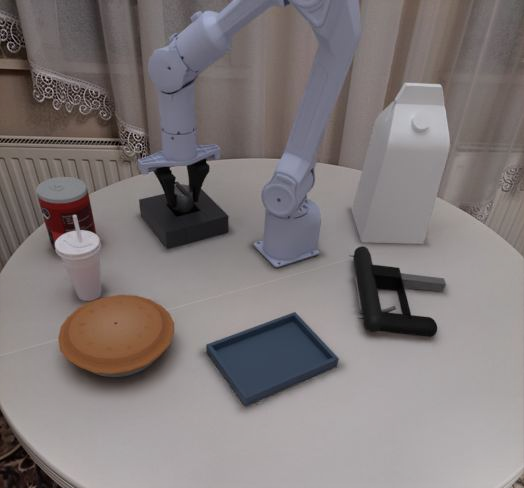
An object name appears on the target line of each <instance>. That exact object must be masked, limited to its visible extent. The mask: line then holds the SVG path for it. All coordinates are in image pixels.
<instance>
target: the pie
mask: <svg viewBox="0 0 524 488" xmlns="http://www.w3.org/2000/svg"><path fill="white" fill-rule="evenodd" d="M174 331H175V322H174V320H173V318H172V315H171V314H170V313H169V312H168V310H167V309H165V307H163V306H162V305H161V304H159V303H157V302H156V301H154V300H152V299H151V298H147V297H143V296H139V295H135V294H134V295H133V294H132V295H131V294H119V295H111V296H105V297H102V298H101V297H100V298H97V299H95V300H92V301H88V302H87V303H85V304H83V305H81V306H79V307H78V308H76V309H75V310H74V311H73V312H72V313H70V314H69V315H68V316H67V318H66V319H65V320H64V322H63V323H62V324H61V326H60V329H59V332H58V337H57V339H58V347H59V351H60V352H61V353H62V355H63V357H64V358H65V359H66V360H67V361H68V362H70V363H71V364H73V365H75V366H76V367H79V368H81V369H83V370H87V371H88V372H90V373H92V374H95V375H98V376H102V377H105V378H123V377H124V378H125V377H130V376H133V375H135V374H138V373H141V372H143V371H144V370H145V369H147V368H149V367H150V366H151V365H152V364H154V362H155V361H156V360H157V359H158V358H159V357H161V355H162V354H163V353H164V352H166V350H167V349H168V348H169V347H170V344H171V341H172V339H173V336H174V333H175V332H174Z"/></svg>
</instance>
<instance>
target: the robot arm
mask: <svg viewBox="0 0 524 488" xmlns="http://www.w3.org/2000/svg"><path fill="white" fill-rule="evenodd" d="M290 5H291V6H292V8H293V9H294V10H295V11H296V12H297V13H298V14H299V15H300V16H301V17H302V18H303V19H304V20H305V21H306V22H307V24H308V25H309V26H310V28H311V30H312V32H313V34H314V36H315V38H316V40H317V42H318V45H317V49H316V52H315V56H314V58H313V61H312V64H311V67H310V70H309V74H308V77H307V79H306V83H305V86H304V89H303V92H302V95H301V98H300V101H299V105H298V106H297V107H298V108H297V111H296V114H295V117H294V119H293V123H292V126H291V130H290V132H289V134H288V138H287V141H286V145H285V148H284V151H283V153H282V156H281V157H280V159H279V161H278V163H277V165H276V167H275V169H274V171H273V174H272V177H271V178H270V180H269V181H267V182H266V183H265V184H264V185H263V187H262V190H261V194H260V196H261V197H260V198H261V202H262V205H263V207H264V209H265V211H264V227H263V239H262V240H258V241H255V242H253V247H254V248H255V250H257V251H258V252H259V253H260V254H261V255H262V256H263V257H264V258H265V259H266V260H267V261H268V262H269V263H270V264H271V265H272V266H273V267H274V268H280V267H281V268H282V267H284V266H287V265H290V264H293V263H296V262H299V261H302V260H306V259H309V258H312V257H315V256H318V255H320V251H319V250H318V245H319V238H320V232H321V227H322V226H321V225H322V216H321V210H320V207H319V206H318V205H317V203H316V202H315V201H314V200H313V199H310V198H308V193H309V192H310V191H311V190H312V189H313V188H314V186H315V183H316V165H317V162H318V157H317V155H318V152H319V149H320V147H321V144H322V142H323V139H324V137H325V134H326V131H327V129H328V126H329V123H330V121H331V118H332V115H333V112H334V110H335V107H336V105H337V102H338V100H339V97H340V94H341V91H342V89H343V86H344V83H345V81H346V79H347V75H348V73H349V70H350V67H351V65H352V62H353V59H354V57H355V55H356V52H357V49H358V46H359V44H360V41H361V39H362V38H361V37H362V33H363V32H362V31H363V30H362V18H361V10H360V9H361V8H360V0H232V1H230V2H229V3H228V4H227V5H226V6H225V7H223V9H222V10H221V11H220V12H217V11H213V10H205V11H203V12H202V10H199V11H197V12H195V13H193V15H191V16H190V21H191V23H190V24H189V25H188V26H186V27H185V28H184V29H183V30H182V31H181V32H180V33H179V34H178V33H177V32H176V33H173V34H172V35H171V36H169V38H168V40H169V42H170V43H169V44H168V45H165V46H164V47H160V48H156V49H154V50H153V53H152V54H151V56H149V59H148V63H147V71H148V75H149V78H150V81H151V82H152V84H153V85H154V86H155V87H156V91H157V102H158V112H159V113H158V114H159V125H160V136H161V148H162V150H159V151H157V152H155V153H153V154H150V155H148V156H145V157H142V158H138V159H137V167H138V171H139V172H140V173H141V174H142V175H143V176H146V175H149V173H150V172H153V174H154V175H155V177H156V178H157V180H158V182H159V184H160V186H161V188H162V190H163V194H165V196H166V200H167V204H168V205H169V206H170V207H171V208H175V205H176V202H175V192H174V190H175V182H176V179H177V177H176V176H175V175H174V174H173V173H172V169H171V168H174V167H186V170H187V177H188V185H189V186H191V187H192V188H193V197H194V202H195V203H196V202H198V199H199V194H200V190H201V189H202V187H203V185H204V182H205V179H206V178H207V176H208V174H209V173H210V169H211V168H210V165H209V163H207V160H212V159H213V160H215V161H217V160H220V159H221V147H219V146H218V145H217V144H216V143H213V144H203V145H202V144H200V145H197V127H196V126H197V125H196V103H195V102H196V101H195V100H196V99H195V91H196V90H195V89H196V88H195V86H196V85H195V84H196V80H197V79H198V78H199V76H200V74H202V73H203V72H204V71H206V70H207V69H208V68H210V67H211V66H212V65H213V64H215V63H216V62H217V61H218V60H220V59H221V58H223V57H224V56H225V55H226V54H228V53H229V52H230V51H231V49H232V46H233V40H234V35H235V34H236V33H238V32H239V31H240V30H242V29H243V28H244V27H246V26H247V25H248V24H250V23H251V22H252V21H254V20H255V19H257V18H258V17H259V16H260V15H262V14H264V13H265V12H266V11H268V10H269V9H270V8H271V7H279V8H286V7H287V6H290Z"/></svg>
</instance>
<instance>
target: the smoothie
mask: <svg viewBox="0 0 524 488" xmlns="http://www.w3.org/2000/svg"><path fill="white" fill-rule="evenodd" d="M73 220H74V224H75V229H76V231H71V232H67V233H65V234H63V235H61V236H60V237H59V238H58V239H57V240H56V241H55V248H56V249H55V250H56V251H55V250H54V251H55V253H56V255H57V256H58V257H60V259H61V261H62V263H63V265H64V268H65V271H66V272H67V276H68V277H69V279H70V283H71V284H72V286H73V289H74V291H75V293H76V295H77V298H79V300H81V301H83V302H91V301H94V300H97V299H100V298H101V295H102V293H103V290H102V289H103V288H102V274H101V257H100V256H101V255H100V250H101V247H102V243H101V239H100V237H99V235H98V234H97V235H96V234H95V233H93V232H90V231H85V230H80V228H79V224H78V219H77V215H73Z"/></svg>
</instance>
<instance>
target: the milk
mask: <svg viewBox="0 0 524 488" xmlns="http://www.w3.org/2000/svg"><path fill="white" fill-rule="evenodd" d="M450 147H451V139H450V131H449V124H448V117H447V111H446V102H445V95H444V89H443V86H442V84H440V83H423V82H422V83H421V82H404V83H403V84H402V86H401V88H400V90H398V93H397V95H396V96H395V97H394V100H393V101H392V102H390V103H389V104H388V105H387V106H386V107H385V108H384V109H383V110H382V111H381V112H379V114H378V115H377V117H376V119H375V121H374V124H373V128H372V132H371V135H370V139H369V143H368V146H367V151H366V155H365V157H364V162H363V166H362V169H361V173H360V176H359V181H358V185H357V188H356V192H355V195H354V199H353V202H352V203H353V204H352V207H351V213H352V216H353V220H354V224H355V226H356V231H357V233H358V237H359V240H360V242H361V243H370V244H371V243H374V244H377V243H378V244H406V245H409V244H411V245H424V244H425V241H426V237H427V233H428V230H429V225H430V222H431V218H432V215H433V211H434V207H435V204H436V201H437V197H438V193H439V190H440V186H441V182H442V178H443V176H444V171H445V167H446V164H447V160H448V157H449V153H450Z"/></svg>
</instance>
